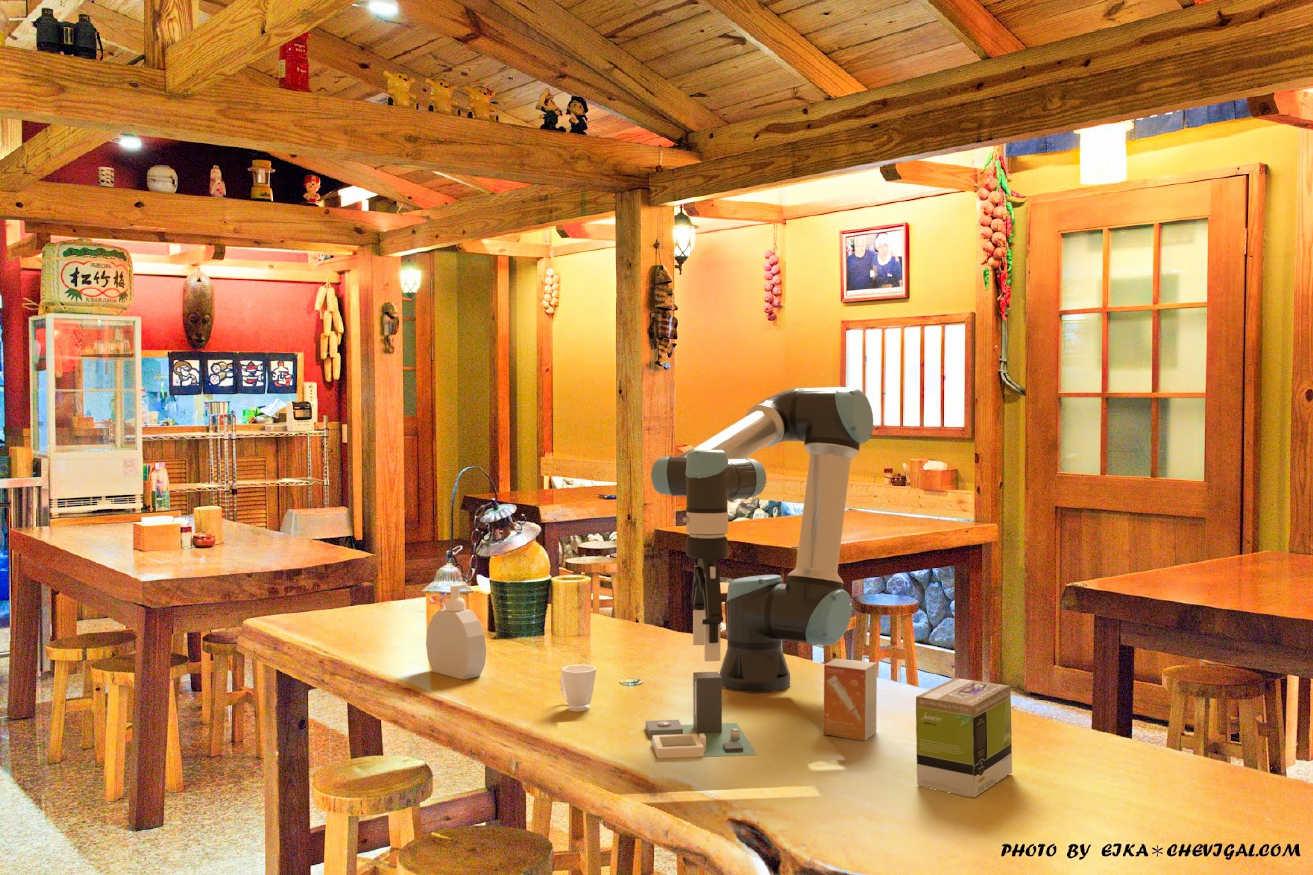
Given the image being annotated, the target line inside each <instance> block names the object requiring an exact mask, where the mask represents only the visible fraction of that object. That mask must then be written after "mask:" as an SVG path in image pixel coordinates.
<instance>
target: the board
mask: <svg viewBox="0 0 1313 875" xmlns="http://www.w3.org/2000/svg"><path fill="white" fill-rule="evenodd" d="M681 726H682V728H683V734H697V733H696V731H695V729H694V727H693V724H681ZM644 727H645V728H646V725H645V726H644ZM647 735H648V734H647ZM697 735H698V737H699V734H697ZM704 735H705V737H706V752H704V757H703V758H709V757H710V758H712V757H713V758H715V757H735V756H742V757H743V756H758V754H757V752H756V751H755V749H754V747H753V745H752V744H751V743H750V742H749V740H748V739H747V736H746V735H745V734H744V731H742V729H741V727H740V725H738V723H737V722H729V723H728V722H726V723H723V722H722V733H704ZM648 737H649V735H648ZM649 741H650V744H651V746H652V749H653V751H654V755H655V757H656V759H657V760H663V759H664V760H665V759H669V760H670V758H657V755H656V753H655V750H654V747H653V745H652V738H649ZM674 746H692V745H672V746H663V747H674ZM687 758H693V759H694V757H682V758H681V759H687Z"/></svg>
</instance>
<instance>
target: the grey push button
mask: <svg viewBox="0 0 1313 875" xmlns="http://www.w3.org/2000/svg"><path fill="white" fill-rule="evenodd" d="M681 725H682V724H681V722H680V720H679V719H660V720H645V726H646V727H645V730H646V732H647V735H649V736H648V738H649V739H650V738H652V735H675V734H683V728H682V726H681Z"/></svg>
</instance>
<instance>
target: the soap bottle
mask: <svg viewBox="0 0 1313 875" xmlns="http://www.w3.org/2000/svg"><path fill="white" fill-rule="evenodd" d="M449 587H450V597H449V598H447V599H446V600H445V608H443V609H438V610H437V611H436V612H435V613H434V614H433V615H432V616H431V619H430V621H429V625H428V627H427V629H426V630H427V632H426V640H425V642H426V643H425V644H426V645H425V646H426V653H427V659H428V663H429V666H430V668H431V671H432V673H435V674H440V675H444V676H447V677H451V678H453V679H456V680H457V679H458V680H462V681H465V680H469V679H474V678H477V677H481V675H482V672H483V670H484V667H485V665H486V659H487V657H486V656H487V642H486V635H485V632H484V630H483V627H482V624H481V620H480V619H479V617H477V615H476V614H475V613H474V611H473V610H471V609H467V608H466V601H465V599H464V598H463V597H461V590H460V589H464V588H466V587H467V584H466V583H459V584H458V583H457V584H451V585H450V586H449Z"/></svg>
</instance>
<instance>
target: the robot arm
mask: <svg viewBox="0 0 1313 875" xmlns="http://www.w3.org/2000/svg"><path fill="white" fill-rule="evenodd" d="M873 431H874V415H873V409H872V407H871V403H870V401H869V399H868V397H867V396H866V394H865V393H864V391H861V390H860V389H859V388H854V387H843V386H838V387H837V386H836V387H795V388H791V389H787V390H784V391H781V392H779V393H776V394H774V395H771V396H770V397H767V398H766V399H764V400H761V401H759V402H758V403H756V404H755V405H753V406H752V407H750V408H749V409H748V411H747V412H746V414H745V416H743V417H742V418H741V419H739V420H737V421H735V422H734V423H732V424H731V425H729V426H727V427H726V428H723V429H722V430H721V431H719V432H717V433H716V434H715V433H714V435H712V436H711V437H709V438H707V439H705V440H704V441H702V442H700V443H699V444H697V445H695V446H693V447H692V448H691V449H689V450H688V451H685V452H684V453H682V454H680V455H678V456H673V455H669V456H661V457H658V459H656V460H655V462H654V463H653V465H652V468H651V471H650V478H651V482H652V483H651V484H652V487H653V488H654V490H655V491H656V492H657V493H659V494H661V495H664V496H665V495H666V496H671V497H686V499H685V500H686V507H685V509H686V514H685V515H686V516H685V517H683V518H682V522H683V523H685V524H686V526H685V529H686V530H685V532H686V533H687V534H688V536H687V537H686V538H685V556H686V557H687V558H689V559H693V565H694V566H693V567H694V568H693V578H692V579H693V580H692V588H691V589H692V592H691V599H690V602H691V604H692V610H693V611H692V618H693V619H692V620H693V621H692V633H693V634H692V645H693V646H704V655H703V656H704V662H721V640H722V639H721V637H722V636H721V634H722V633H721V628H722V627H721V623H723V621H724V617H723V605H722V604H723V603H722V590H721V577H720V576H721V573H720V572H721V568H720V566H717V565H716V564H717V563H716V560H717V559H724V558H726V557H727V556H728V538H727V536H725V535H726V534H728V532H729V530H728V528H729V527H728V526H729V511H728V505H729V504H728V502H729V501H731V500H741V499H742V500H743V499H744V500H748V499H750V498H751V499H752V498H755V497H757V496H759V495H760V494H762V492H763V491H764V489H765V487H766V484H767V472H766V469H765V468H764V466H763V465H762V464H761V463H760V462H759V461H758V460H757V459H753V458H749V457H750V456H752V455H754V454H755V453H757V452H758V451H760V450H761V449H763V448H764V447H765V448H766V447H767V448H770V447H774V446H776V445H778V444H780V443H784V442H804V443H803V444H804V445H803V448H804V449H805V451H806V452H807V454H808V455H809V458H808V459H809V460H808V461H809V462H808V468H807V476H806V484H805V491H804V492H805V494H804V500H803V506H802V508H803V509H802V517H801V525H800V534H799V539H798V540H799V541H798V550H797V555H796V556H797V558H796V564H795V568H794V569H793V570H791V571H790V572H788V573H787V577H786V578H787V579H786V583H784V582H783V581H784V580H783V578H782V576H781V575H780V574H779V575H778V574H763V575H753V576H746V577H745V576H744V577H739V578H735V579H733V580H731V581H730V582H729V583H728V586H727V594H726V600H725V602H726V614H727V615H726V619H727V620H726V621H727V623H726V626H727V627H726V628H727V630H726V631H727V632H726V633H727V635H726V636H727V647H726V648H727V649H726V652H725V654H724V657H723V661H722V664H721V668H720V670H719V674H720V676H721V677H722V688H725V689H727V690H730V691H731V690H732V691H735V692H742V693H743V692H745V693H769V692H778V691H783V690H785V689H787V688H788V687H790V686H791V673H790V670H789V666H788V663H787V661H786V657H785V654H784V651H783V641H786V642H787V641H788V642H795V643H801V644H808V645H812V646H833V645H834V644H836V643H838V642H839V641H840V640H842V637H844V635H845V633H846V632H847V629H848V627H849V625H850V621H851V619H852V618H851V617H852V612H853V604H852V603H851V602H852V599H851V595H850V594H849V592H847V591H846V590H845V589H844V581H843V578H841V576H840V575H839V573H838V570H839V564H840V563H839V562H840V555H841V545H842V536H843V529H844V528H843V527H844V521H845V514H846V513H845V510H846V505H847V503H846V502H847V496H848V485H849V478H850V468H851V461H853V459H854V458H856V457H857V456H858V455H859V454H860V446H861V445H862V444H865V443H867V442H869V440H870V439H871V436H872V435H873Z"/></svg>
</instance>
